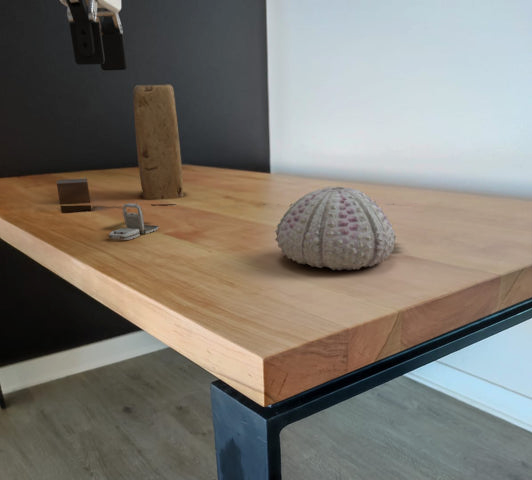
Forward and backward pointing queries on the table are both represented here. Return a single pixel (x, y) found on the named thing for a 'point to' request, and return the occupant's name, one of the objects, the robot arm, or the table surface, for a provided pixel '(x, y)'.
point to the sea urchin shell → (336, 230)
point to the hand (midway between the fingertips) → (103, 67)
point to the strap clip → (132, 225)
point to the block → (157, 142)
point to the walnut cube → (73, 195)
